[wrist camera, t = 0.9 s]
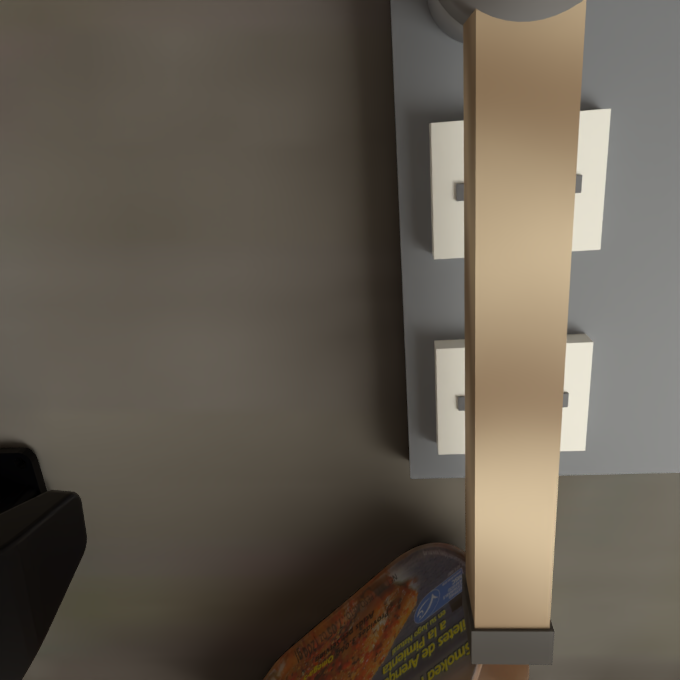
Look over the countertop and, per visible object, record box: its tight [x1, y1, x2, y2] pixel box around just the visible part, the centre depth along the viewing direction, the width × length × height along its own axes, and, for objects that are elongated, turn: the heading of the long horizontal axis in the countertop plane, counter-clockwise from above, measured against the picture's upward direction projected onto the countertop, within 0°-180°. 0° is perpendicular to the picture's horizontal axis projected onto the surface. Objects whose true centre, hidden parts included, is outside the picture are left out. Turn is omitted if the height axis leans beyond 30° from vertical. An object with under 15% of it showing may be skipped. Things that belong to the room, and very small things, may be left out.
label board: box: [390, 0, 680, 479], centre depth 17 cm, size 14×18×5 cm
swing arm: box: [438, 0, 586, 665], centre depth 14 cm, size 20×4×2 cm, turn 4°
